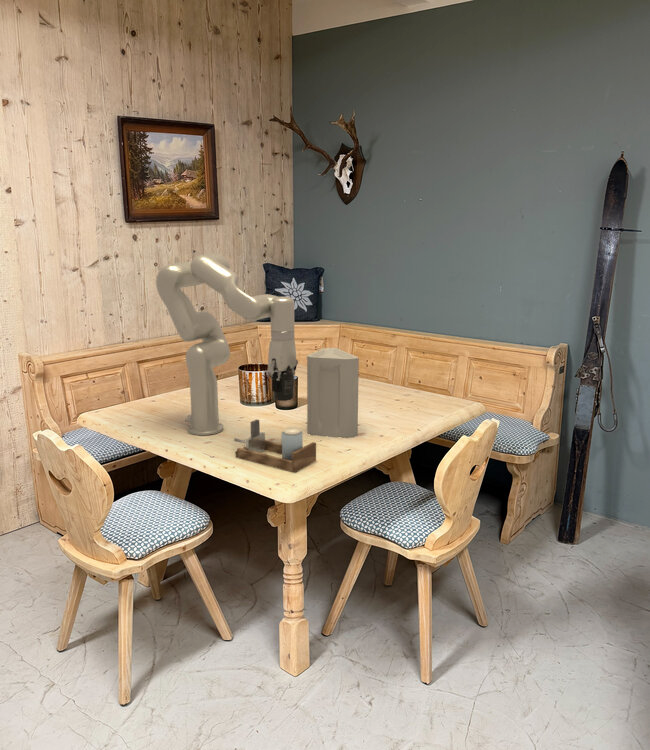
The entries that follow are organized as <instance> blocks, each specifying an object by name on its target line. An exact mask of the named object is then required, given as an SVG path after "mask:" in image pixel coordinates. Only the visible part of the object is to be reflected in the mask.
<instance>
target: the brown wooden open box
mask: <svg viewBox="0 0 650 750" xmlns="http://www.w3.org/2000/svg"><path fill="white" fill-rule="evenodd" d="M264 451H267V452H270V453H271V452H272V453H275V454H279V455H282V443H280V442H274V441H271V440H267V439H265V450H264ZM235 458H238V459H242V460H245V461H250V462H252V463H255V464H256V463H257V464H261V465H264V466H268V467H272V468H275V469H280V470H283V471H286V472H287V471H288V472H291V473H297V472H299V471H300V470H303V469H304V468H307V467H308V466H310V465H311V464H313V463H315V462H317V442H310V443H308V444H307V445H305V446H303V448H301V449H299V450H297V451H295V452H293V453H292V461H291V460H287V459H283V458H282V457H278V456H275V455H271V454H267V453H262V452H260V453H259V452H255V451H251V450H247V449H246V446H244V447H237V448H236V450H235Z"/></svg>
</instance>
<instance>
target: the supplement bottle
mask: <svg viewBox="0 0 650 750" xmlns="http://www.w3.org/2000/svg"><path fill="white" fill-rule="evenodd" d="M276 370H278V369H276ZM275 374H276V375H278V373H275ZM280 380H281V392H280V393H279V392H273V391H272V395H273V399H274V400H275V401H280V402H281V401H282V402H285V401H291V400H293V399H294V397H295V375H293V372H292V371H291V370H290V366H288V367H287V368H286V370H285V371H283V372H282V373H281V377H280Z"/></svg>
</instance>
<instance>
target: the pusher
mask: <svg viewBox="0 0 650 750" xmlns="http://www.w3.org/2000/svg"><path fill="white" fill-rule="evenodd" d="M260 427H261V426H260V419H254V420H252V421H250V437H248V438H247V437H246V438H245V440H244V439H239V438H236V437H234V438H233V441H234V442H236V443H240V444H245V447H246V449H247V450H251V451H255V452H259V453H262V452H264V451H266V450H265V440H266V433H265V432H263V431H261V432H260V429H261V428H260Z"/></svg>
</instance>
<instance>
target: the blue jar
mask: <svg viewBox="0 0 650 750" xmlns="http://www.w3.org/2000/svg"><path fill="white" fill-rule="evenodd" d="M281 444H282V454H281V458H283V459H287V460H291V461H292V453H293V452H295V451H297V450H299V449H301V448H303V447H304V446H303V445H304V444H303V431H302V430H301V428H300V427H296V426H290V427H285V428H284V429H283V431H282V432H281Z"/></svg>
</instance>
